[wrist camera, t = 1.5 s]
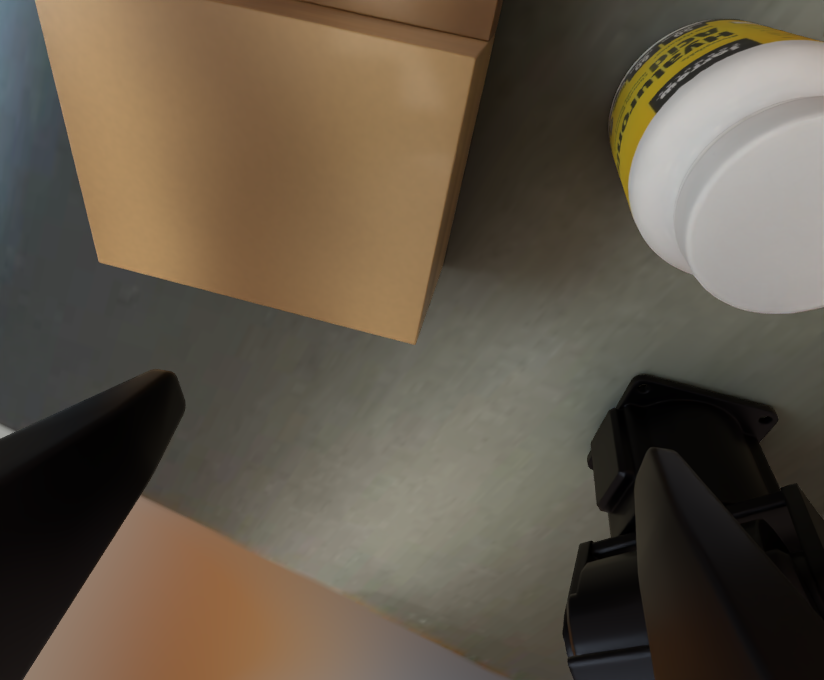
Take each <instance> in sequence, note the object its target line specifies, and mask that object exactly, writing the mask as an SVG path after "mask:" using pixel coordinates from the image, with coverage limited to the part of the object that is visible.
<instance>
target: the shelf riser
mask: <svg viewBox="0 0 824 680" xmlns="http://www.w3.org/2000/svg"><path fill="white" fill-rule="evenodd" d="M35 3H36V7H37V11H38V15H39V19H40V23H41V27H42V31H43V35H44V39H45V43H46V48H47V52H48V56H49V60H50V64H51V68H52V72H53V76H54V80H55V84H56V88H57V93H58V97H59V101H60V105H61V109H62V113H63V117H64V121H65V125H66V129H67V133H68V137H69V142H70V146H71V150H72V154H73V158H74V162H75V166H76V170H77V174H78V178H79V182H80V186H81V191H82V195H83V199H84V203H85V207H86V211H87V215H88V219H89V223H90V227H91V231H92V236H93V240H94V244H95V248H96V252H97V256H98V260H99V262H100V263H104V264H108V265H111V266H115V267H119V268H123V269H127V270H130V271H134V272H138V273H142V274H146V275H150V276H153V277H157V278H161V279H165V280H169V281H172V282H176V283H180V284H184V285H188V286H192V287H195V288H199V289H203V290H207V291H211V292H215V293H218V294H222V295H226V296H230V297H234V298H237V299H241V300H245V301H249V302H253V303H257V304H260V305H264V306H268V307H272V308H276V309H279V310H283V311H287V312H291V313H295V314H299V315H302V316H306V317H310V318H314V319H318V320H322V321H325V322H329V323H333V324H337V325H341V326H344V327H348V328H352V329H356V330H360V331H364V332H367V333H371V334H375V335H379V336H383V337H386V338H390V339H394V340H398V341H402V342H406V343H409V344H413V345H415V344H416V342H417V339H418V336H419V334H420V331H421V328H422V325H423V322H424V319H425V316H426V313H427V310H428V308H429V305H430V302H431V299H432V296H433V293H434V290H435V287H436V284H437V282H438V279H439V276H440V273H441V270H442V267H443V263H444V259H445V254H446V250H447V246H448V241H449V237H450V232H451V228H452V223H453V219H454V215H455V210H456V206H457V201H458V197H459V193H460V188H461V184H462V179H463V175H464V170H465V166H466V162H467V157H468V153H469V148H470V144H471V140H472V135H473V131H474V126H475V122H476V118H477V113H478V109H479V104H480V100H481V95H482V91H483V87H484V82H485V78H486V73H487V69H488V65H489V60H490V56H491V51H492V47H493V43H494V38H495V35H494V34H495V33H496V29H497V25H498V20H499V16H500V12H501V7H502V3H503V0H35Z"/></svg>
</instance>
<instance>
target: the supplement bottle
mask: <svg viewBox="0 0 824 680" xmlns="http://www.w3.org/2000/svg"><path fill="white" fill-rule="evenodd" d="M609 141H610V146H611V150H612V154H613V158H614V161H615V164H616V167H617V170H618V173H619V177H620V179H621V182H622V185H623V188H624V192H625V195H626V198H627V201H628V204H629V207H630V211H631V213H632V216H633V219H634V221H635V223H636V226H637V228H638V229H639V231H640V233H641V235H642V237H643V239H644V240H645V242H646V243H647V244H648V245H649V247H650V248H651V249H652V250H653V251H654V252H655V253H656V254H657V255H658V256H659V257H661V258H662V259H663V260H665V261H666V262H667V263H669V264H671V265H672V266H674V267H676V268H678V269H680V270H682V271H684V272H687V273H689V274H692V275H694V276H695V278H696V279H697V280H698V281H699V282H700V284H701V285H702V286H703V287H704V288H705V289H706V290H707V291H708V292H709V293H711V294H712V295H713V296H714V297H715V298H717V299H719V300H721V301H723V302H725V303H726V304H729V305H731V306H733V307H736V308H739V309H742V310H746V311H750V312H756V313H765V314H790V313H798V312H804V311H810V310H814V309H818V308H823V307H824V42H822V41H818V40H814V39H810V38H807V37H803V36H799V35H795V34H792V33H788V32H784V31H781V30H777V29H773V28H770V27H766V26H762V25H759V24H755V23H751V22H747V21H742V20H736V19H715V20H706V21H701V22H697V23H694V24H690V25H687V26H685V27H683V28H680V29H678V30H676V31H674V32H672V33H670V34H668V35H667V36H665V37H664V38H662V39H661V40H659V41H658V42H656V43H655V44H654V45H652V46H651V47H650V48H649V49H648V50H646V51H645V52H644V53H643V54H642V55H641V56H640V57H639V59H638V60H637V61H636V62H635V63H634V64H633V65H632V67H631V68H630V69H629V71H628V72H627V73H626V75H625V77H624V78H623V80H622V81H621V83H620V85H619V87H618V89H617V91H616V94H615V97H614V99H613V102H612V106H611V110H610V115H609Z"/></svg>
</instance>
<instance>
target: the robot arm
mask: <svg viewBox="0 0 824 680" xmlns="http://www.w3.org/2000/svg"><path fill="white" fill-rule="evenodd" d="M642 384H646V385H647V386H645V387H639V386H640V385H642ZM184 411H185V399H184V396H183V393H182V390H181V387H180V384H179V381H178V378H177V376H176V375H175V374H174V373H173V372H171V371H165V370H159V369H153V370H150V371H147V372H145V373H143V374H141V375H139V376H137V377H134V378H132V379H130V380H128V381H126V382H123V383H121V384H119V385H117V386H115V387H112V388H110V389H108V390H106V391H104V392H102V393H99V394H97V395H95V396H93V397H91V398H88V399H86V400H84V401H82V402H80V403H78V404H75V405H73V406H71V407H69V408H67V409H64V410H62V411H60V412H58V413H56V414H53V415H51V416H49V417H47V418H45V419H43V420H40V421H38V422H36V423H34V424H32V425H29V426H27V427H25V428H23V429H21V430H18V431H16V432H14V433H12V434H10V435H8V436H5V437H3V438H1V439H0V680H23V679H24V677H25V675H26V674H27V672H28V671H29V669H30V668H31V666H32V665H33V663H34V661H35V660H36V658H37V657H38V655H39V654H40V652H41V650H42V649H43V647H44V646H45V644H46V643H47V641H48V639H49V638H50V636H51V635H52V633H53V632H54V630H55V629H56V627H57V625H58V624H59V622H60V621H61V619H62V617H63V616H64V614H65V613H66V611H67V610H68V608H69V607H70V605H71V603H72V602H73V600H74V599H75V597H76V596H77V594H78V592H79V591H80V589H81V588H82V586H83V585H84V583H85V581H86V580H87V578H88V577H89V575H90V574H91V572H92V570H93V569H94V567H95V566H96V564H97V563H98V561H99V559H100V558H101V556H102V555H103V553H104V552H105V550H106V549H107V547H108V545H109V544H110V542H111V541H112V539H113V538H114V536H115V534H116V533H117V531H118V529H119V528H120V527H121V525H122V523H123V522H124V520H125V519H126V517H127V515H128V514H129V512H130V511H131V509H132V508H133V506H134V505H135V503H136V501H137V500H138V498H139V497H140V495H141V494H142V492H143V491H144V489H145V487H146V486H147V484H148V482H149V481H150V479H151V477H152V475H153V473H154V472H155V470H156V468H157V466H158V464H159V462H160V460H161V458H162V456H163V454H164V452H165V450H166V448H167V446H168V444H169V442H170V440H171V438H172V436H173V434H174V432H175V430H176V428H177V426H178V424H179V422H180V420H181V418H182V416H183V414H184ZM763 416H767V417H765V418H761V417H763ZM777 421H778V416H777V414H776V412H775V410H774V409H773V408H771V407H769V406H765V405H762V404H758V403H754V402H750V401H746V400H742V399H738V398H734V397H730V396H727V395H723V394H719V393H715V392H711V391H707V390H703V389H699V388H695V387H692V386H688V385H684V384H680V383H676V382H672V381H668V380H664V379H661V378H657V377H653V376H649V375H638V376H636V377H634V378H633V379H632V380H631V382H630V384H629V385H628V387H627V389H626V391H625V392H624V394H623V396H622V398H621V399H620V401H619V403H618V405H617V406H616V408H612V409H611V410H609V411H608V413H607V415H606V417H605V419H604V420H603V422H602V424H601V426H600V427H599V429H598V431H597V433H596V434H595V436H594V438H593V440H592V441H591V451H590V453H589V455H588V457H587V462H588V467H589V468H590V469H592V470H593V471H594V481H595V491H596V501H597V506H598V507H599V509H600V510H601V511H604V512H608V517H609V526H610V534H611V538H608V539H604V540H601V541H597V542H593V541H588V542H585V543H581V544H580V545H579V549H578V554H577V558H576V563H575V568H574V572H573V577H572V581H571V586H570V591H569V595H568V600H567V604H566V609H565V614H564V626H563V638H564V641H565V646H566V651H567V655H568V666H569V668H570V671H571V674H572V676H573V679H574V680H824V521H823V519H822V518H821V517H820V515H819V514H818V512H817V511H816V510H815V508H814V507H813V505H812V504H811V503H810V501H809V500H808V498H807V497H806V495H805V494H804V493H803V491H802V490H801V488H800V487H799V486H798V484H797V483H796V484H793V485H789V486H786V487H782V488H781V490H780V488H779V486H778V483H777V481H776V479H775V477H774V475H773V472H772V470H771V468H770V466H769V464H768V462H767V459H766V457H765V455H764V453H763V451H762V448H761V446H760V444H759V443H760V441H761V440H762V439H763V438H764V437H765V436H766V435H767V433H768V432H769V431H770V430H771V429H772V428H773V427H774V425H775V424H776V423H777Z"/></svg>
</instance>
